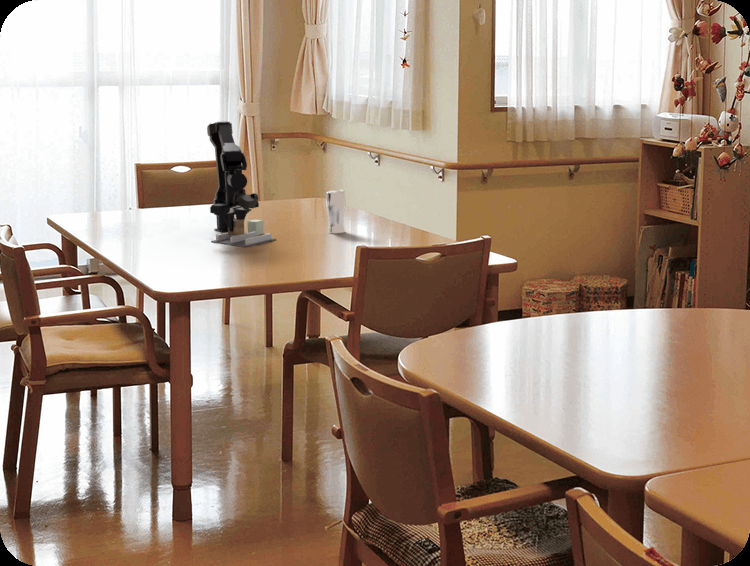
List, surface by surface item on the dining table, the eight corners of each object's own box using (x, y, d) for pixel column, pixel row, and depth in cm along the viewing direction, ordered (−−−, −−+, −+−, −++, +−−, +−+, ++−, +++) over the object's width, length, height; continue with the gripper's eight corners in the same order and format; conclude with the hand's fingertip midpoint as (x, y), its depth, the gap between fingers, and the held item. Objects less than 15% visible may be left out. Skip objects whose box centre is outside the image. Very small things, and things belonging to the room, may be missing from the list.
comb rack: (210, 242, 331) (210, 235, 331) (241, 235, 343) (240, 228, 342) (246, 247, 321) (246, 240, 321) (276, 239, 333) (276, 233, 333)
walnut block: (228, 234, 333) (227, 220, 332) (236, 232, 336) (235, 218, 335) (236, 235, 331) (235, 221, 330) (244, 233, 334) (243, 219, 333)
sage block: (248, 234, 344) (247, 221, 343) (255, 232, 347) (254, 219, 346) (256, 235, 342) (255, 222, 341) (263, 233, 345) (263, 220, 344)
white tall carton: (343, 234, 342) (342, 192, 338) (324, 233, 343) (323, 192, 339) (348, 230, 348) (347, 189, 345) (329, 230, 350) (328, 189, 346)
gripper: (231, 191, 318) (233, 237, 321) (269, 184, 332) (271, 228, 336) (207, 188, 324) (210, 233, 328) (246, 182, 339) (248, 225, 342)
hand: (236, 230), depth 333 cm, fingers closed on walnut block, 4 cm apart
